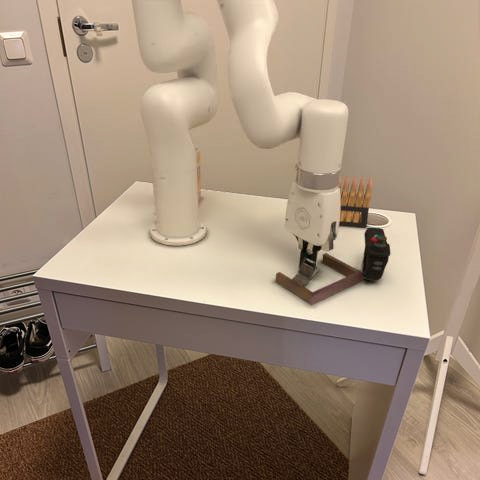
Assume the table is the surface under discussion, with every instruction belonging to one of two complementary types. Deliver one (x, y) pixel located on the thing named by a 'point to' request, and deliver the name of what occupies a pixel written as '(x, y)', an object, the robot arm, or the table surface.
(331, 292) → the frame
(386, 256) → the controller
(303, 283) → the strap clip
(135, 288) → the table surface
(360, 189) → the ammunition clip
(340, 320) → the table surface
